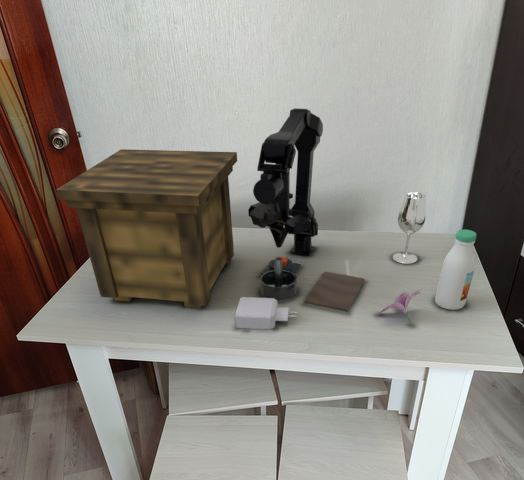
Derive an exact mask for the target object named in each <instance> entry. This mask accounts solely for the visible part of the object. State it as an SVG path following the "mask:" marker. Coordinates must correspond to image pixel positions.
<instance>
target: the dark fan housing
mask: <svg viewBox="0 0 524 480" xmlns="http://www.w3.org/2000/svg"><path fill="white" fill-rule="evenodd" d="M273 284H275V280H274V270H272V271H268V272H266V273H264V274H263V275H260V278H259V287H260V288H259V292H260V294H261V296H263V298H274V299H276V300H277V301H284V300H289V299H290V298H293V297H294V296H296V294H297V289H298V277H297V275H296V274H295V273H294V274H293V273H292V272H289V271H286V270H282V284H284V285H287V286H283V287H273V286H269V285H273Z"/></svg>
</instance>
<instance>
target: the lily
mask: <svg viewBox="0 0 524 480" xmlns="http://www.w3.org/2000/svg"><path fill="white" fill-rule="evenodd" d="M421 290H422V288H420V289H417V290H416V291H414V292H412V293H411V294H409V292H408V291H403V292H401V293H399V294H398V295H397V296H396V297H395V298H394V300H393V303H391V304H388V305H386V306H385V307H383V308H382V310H381V311H379V312H378V313H377V315H380V314H382V313H383V312H385V311H388V310H389V309H393V310H399V311H404V312H405V314H406V316H407V320H408V322H409V325H410V326H412V322H411V319H410V316H409V313H408V310H407V309H408V306H409V304H410V302H411V300H412V298H413V297H415V296H417V295H419V294H421V292H420V291H421Z"/></svg>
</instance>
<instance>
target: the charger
mask: <svg viewBox="0 0 524 480" xmlns="http://www.w3.org/2000/svg"><path fill="white" fill-rule="evenodd" d="M296 314H298V311H290V307H281V306H278V300H276V299H274V298H266V297H254V296H253V297H252V296H241V297H240V298H239V301H238V305H237V308H236V310H235V315H234V316H235V317H234V318H235V328H236V329H254V330H272V329H274V328H276V322H288V321H289V318H297V315H296Z"/></svg>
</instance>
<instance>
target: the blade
mask: <svg viewBox="0 0 524 480" xmlns="http://www.w3.org/2000/svg"><path fill="white" fill-rule="evenodd" d="M273 259H274V280H275V284H273V285H269V286H273V287H283V286H287V285H284V284H282V258H281V257H278V256H275V257H274V258H273Z"/></svg>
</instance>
